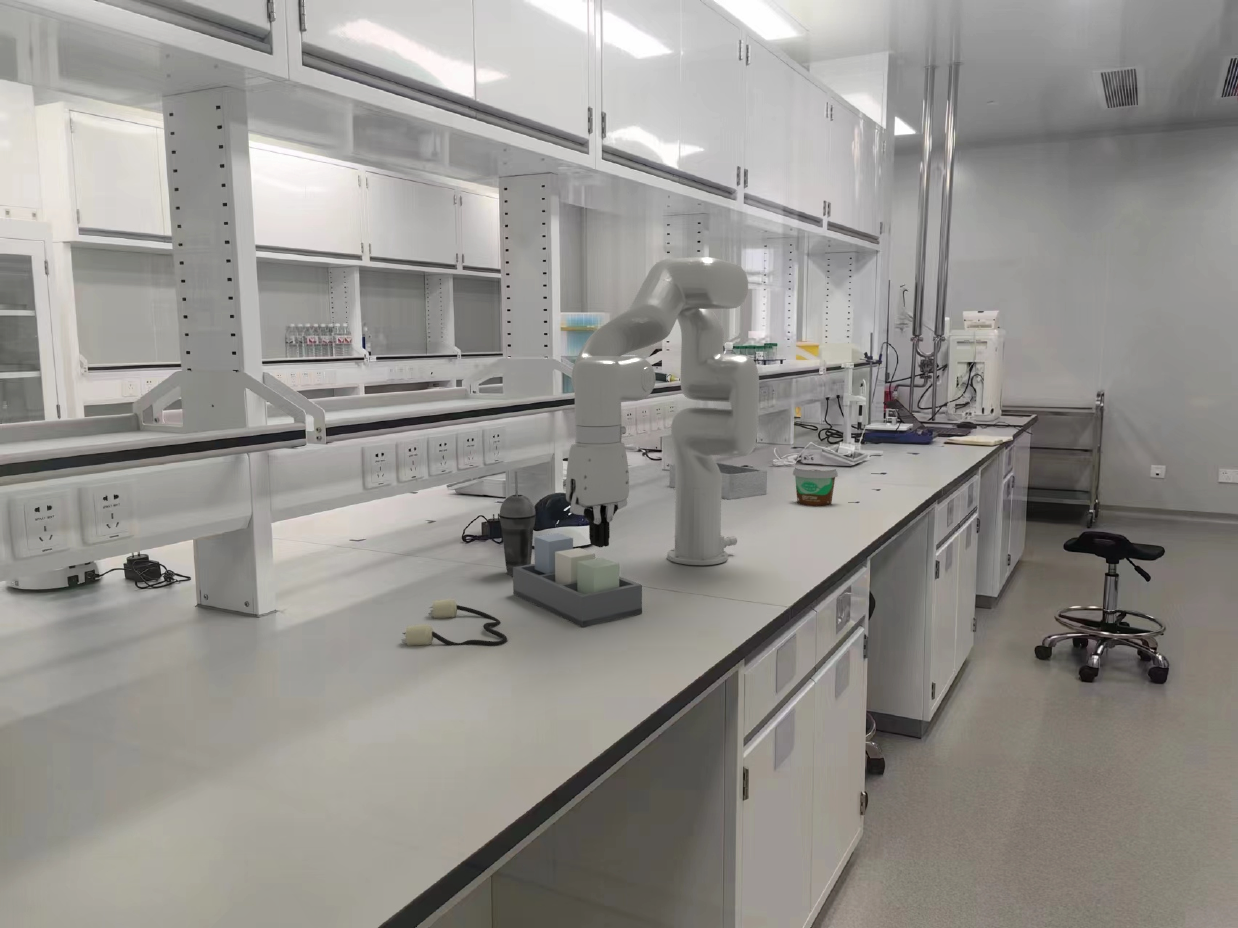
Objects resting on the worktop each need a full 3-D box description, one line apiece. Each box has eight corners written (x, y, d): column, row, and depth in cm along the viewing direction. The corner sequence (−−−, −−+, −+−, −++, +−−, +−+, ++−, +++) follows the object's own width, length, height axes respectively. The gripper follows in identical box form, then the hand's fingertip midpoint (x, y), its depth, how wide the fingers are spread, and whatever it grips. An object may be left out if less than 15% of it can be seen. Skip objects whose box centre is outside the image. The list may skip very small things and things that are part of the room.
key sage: (601, 591, 150) (601, 557, 149) (619, 598, 146) (619, 563, 145) (577, 596, 147) (577, 561, 147) (594, 603, 143) (594, 568, 143)
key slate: (558, 565, 161) (558, 533, 160) (573, 570, 157) (573, 538, 156) (534, 569, 158) (534, 536, 158) (549, 575, 154) (548, 541, 154)
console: (569, 583, 165) (569, 557, 165) (642, 613, 147) (642, 584, 147) (513, 594, 158) (512, 567, 158) (582, 627, 140) (582, 597, 140)
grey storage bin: (705, 482, 282) (706, 460, 281) (766, 494, 261) (767, 470, 260) (669, 486, 274) (669, 464, 273) (729, 499, 252) (729, 475, 251)
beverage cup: (502, 579, 168) (500, 475, 166) (497, 569, 175) (495, 470, 173) (540, 576, 170) (538, 474, 168) (533, 567, 177) (532, 468, 174)
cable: (522, 617, 147) (521, 597, 147) (502, 652, 131) (502, 629, 130) (430, 615, 148) (429, 595, 148) (400, 649, 132) (399, 627, 131)
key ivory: (579, 580, 156) (579, 547, 155) (595, 587, 152) (595, 553, 151) (555, 585, 153) (555, 551, 152) (570, 592, 149) (570, 557, 148)
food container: (789, 505, 243) (790, 469, 242) (791, 501, 249) (793, 466, 248) (835, 508, 240) (836, 471, 238) (836, 504, 245) (838, 468, 244)
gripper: (621, 429, 150) (622, 534, 153) (546, 437, 142) (549, 547, 145) (648, 434, 144) (649, 542, 147) (572, 441, 136) (574, 557, 139)
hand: (599, 545), depth 146 cm, fingers closed
